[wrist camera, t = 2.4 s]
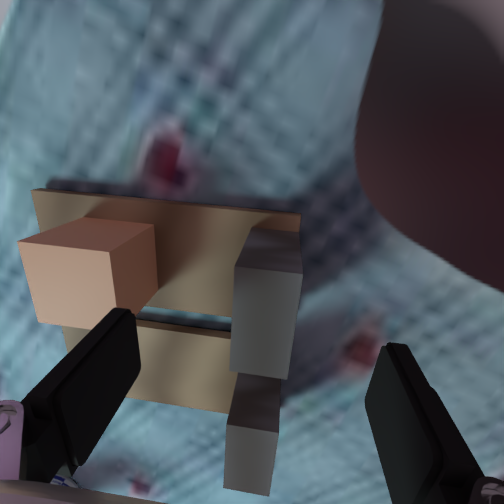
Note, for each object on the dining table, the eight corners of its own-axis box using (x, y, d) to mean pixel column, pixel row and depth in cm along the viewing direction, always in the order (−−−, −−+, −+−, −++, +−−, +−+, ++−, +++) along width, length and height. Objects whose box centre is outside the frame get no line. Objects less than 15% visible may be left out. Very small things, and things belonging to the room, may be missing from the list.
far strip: (283, 339, 22) (280, 420, 15) (273, 412, 25) (267, 505, 18) (66, 309, 23) (-16, 372, 17) (81, 381, 26) (16, 457, 20)
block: (153, 224, 19) (109, 252, 14) (158, 290, 20) (120, 333, 16) (83, 217, 19) (17, 241, 14) (93, 282, 21) (38, 322, 16)
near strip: (300, 213, 18) (306, 252, 12) (286, 318, 21) (284, 393, 15) (40, 188, 19) (-78, 210, 13) (61, 288, 22) (-27, 346, 16)
